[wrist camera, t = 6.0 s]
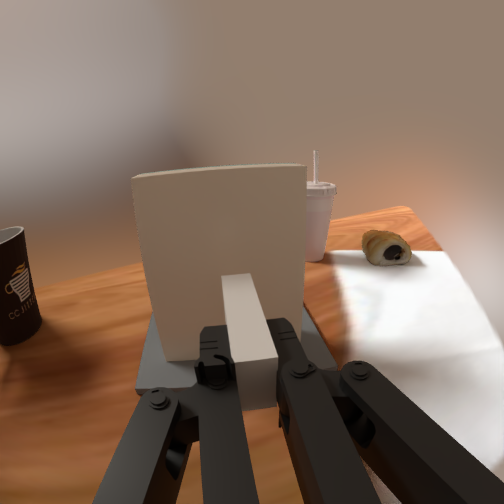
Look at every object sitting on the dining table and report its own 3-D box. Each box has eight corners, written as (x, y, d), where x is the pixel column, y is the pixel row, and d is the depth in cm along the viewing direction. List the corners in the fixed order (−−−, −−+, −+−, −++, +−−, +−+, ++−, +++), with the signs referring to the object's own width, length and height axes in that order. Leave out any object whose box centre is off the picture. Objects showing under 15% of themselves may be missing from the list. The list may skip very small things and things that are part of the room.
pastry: (351, 243, 44) (353, 219, 42) (390, 243, 43) (393, 220, 42) (370, 268, 35) (374, 240, 34) (415, 267, 35) (419, 240, 33)
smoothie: (337, 265, 36) (343, 152, 31) (287, 266, 36) (287, 150, 31) (328, 247, 42) (331, 150, 37) (284, 248, 42) (284, 149, 37)
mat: (137, 394, 17) (134, 388, 17) (165, 272, 35) (164, 268, 35) (336, 371, 19) (337, 366, 19) (275, 262, 37) (275, 258, 37)
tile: (165, 361, 20) (130, 178, 15) (168, 341, 22) (140, 173, 17) (299, 347, 21) (306, 165, 16) (291, 328, 23) (294, 163, 18)
